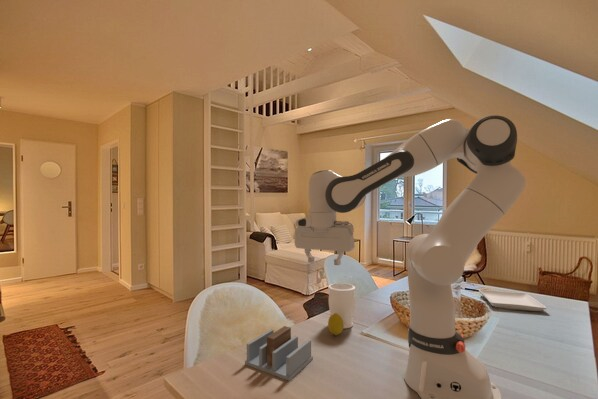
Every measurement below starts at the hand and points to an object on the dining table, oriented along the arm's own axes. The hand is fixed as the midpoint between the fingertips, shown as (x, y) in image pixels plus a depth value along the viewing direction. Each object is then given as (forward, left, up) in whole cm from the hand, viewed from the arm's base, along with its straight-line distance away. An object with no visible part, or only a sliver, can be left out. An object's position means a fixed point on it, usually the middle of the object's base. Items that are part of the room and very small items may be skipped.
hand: (324, 263), depth 97 cm
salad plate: (-53, -84, -29) cm, 104 cm away
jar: (+4, -22, -29) cm, 37 cm away
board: (+9, +13, -27) cm, 31 cm away
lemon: (+2, -12, -29) cm, 31 cm away
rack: (+9, +13, -28) cm, 32 cm away
